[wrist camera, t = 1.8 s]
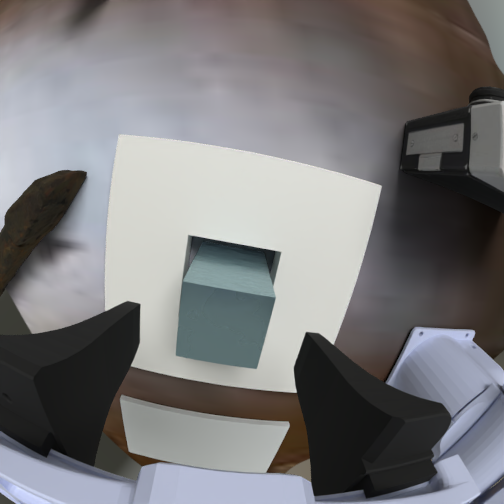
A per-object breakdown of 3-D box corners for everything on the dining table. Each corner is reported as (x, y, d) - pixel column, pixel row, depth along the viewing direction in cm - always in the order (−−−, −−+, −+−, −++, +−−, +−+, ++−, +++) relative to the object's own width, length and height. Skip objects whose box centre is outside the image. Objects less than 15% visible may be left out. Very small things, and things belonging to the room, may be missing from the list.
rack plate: (368, 183, 18) (381, 185, 16) (308, 377, 22) (312, 393, 20) (131, 137, 16) (119, 134, 14) (117, 346, 21) (108, 359, 19)
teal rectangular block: (263, 252, 19) (275, 297, 12) (251, 306, 20) (256, 369, 13) (203, 240, 18) (182, 281, 12) (195, 295, 20) (175, 355, 13)
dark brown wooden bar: (-2, 310, 20) (-28, 331, 15) (-20, 278, 19) (-47, 295, 14) (108, 203, 18) (74, 214, 13) (82, 158, 17) (45, 158, 12)
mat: (288, 421, 24) (289, 426, 23) (265, 469, 26) (265, 473, 26) (121, 394, 22) (119, 398, 22) (130, 448, 25) (129, 451, 24)
